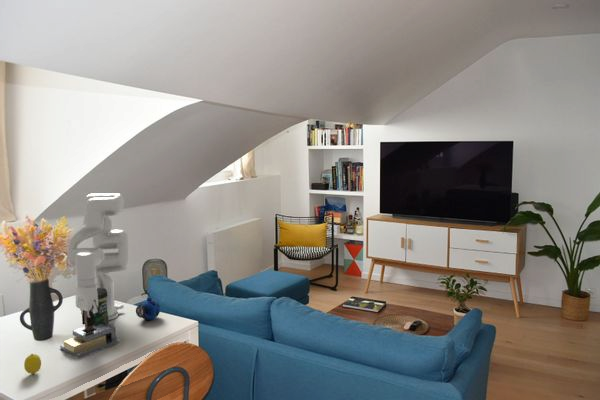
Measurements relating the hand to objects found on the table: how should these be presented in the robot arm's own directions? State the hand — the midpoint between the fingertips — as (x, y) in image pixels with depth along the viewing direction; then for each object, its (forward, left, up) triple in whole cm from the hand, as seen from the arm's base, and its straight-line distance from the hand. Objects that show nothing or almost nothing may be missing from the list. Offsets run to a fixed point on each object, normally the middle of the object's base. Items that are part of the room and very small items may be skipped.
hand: (88, 324), depth 208 cm
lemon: (+26, +6, -10) cm, 28 cm away
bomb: (-33, -5, -10) cm, 35 cm away
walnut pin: (0, 0, -2) cm, 2 cm away
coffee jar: (-12, -14, -10) cm, 21 cm away
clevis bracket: (0, 0, -10) cm, 10 cm away
